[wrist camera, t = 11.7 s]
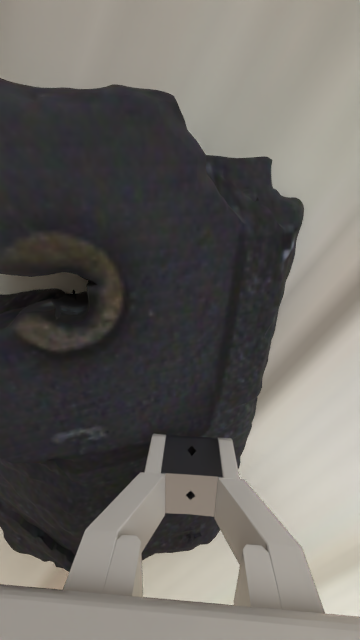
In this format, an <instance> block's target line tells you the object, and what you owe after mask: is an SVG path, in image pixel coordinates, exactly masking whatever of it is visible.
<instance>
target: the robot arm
mask: <svg viewBox="0 0 360 640" xmlns="http://www.w3.org/2000/svg"><path fill="white" fill-rule="evenodd" d="M165 513H173V514H193V515H202V516H211V517H214V518H215V520H216V522H217V524H218V526H219V528H220V530H221V531H222V533H223V535H224V537H225V539H226V541H227V543H228V544H229V546H230V548H231V550H232V552H233V554H234V556H235V557H236V559H237V561H238V563H239V565H240V569H239V574H238V580H237V586H236V591H235V597H234V605H225V604H214V603H203V602H191V601H180V600H169V599H158V598H147V597H143V577H142V554H141V553H142V551H143V550H144V548H145V546H146V545H147V543H148V542H149V540H150V538H151V537H152V535H153V533H154V532H155V530H156V529H157V527H158V525H159V524H160V522H161V521H162V519H163V517H164V516H165ZM0 640H360V617H357V616H346V615H335V614H325V612H324V609H323V606H322V603H321V600H320V597H319V595H318V592H317V589H316V586H315V583H314V580H313V577H312V575H311V572H310V569H309V566H308V563H307V560H306V557H305V555H304V552H303V549H302V547H301V546H300V545H299V543H298V542H297V541H296V540H295V539H294V537H293V536H292V535H291V534H290V533H289V532H288V530H287V529H286V528H285V527H284V526H283V525H282V523H281V522H280V521H279V520H278V519H277V517H276V516H275V515H274V514H273V513H272V512H271V510H270V509H269V508H268V507H267V506H266V505H265V503H264V502H263V501H262V500H261V499H260V497H259V496H258V495H257V494H256V493H255V492H254V490H253V489H252V488H251V487H250V486H249V484H248V483H247V482H246V481H245V480H244V479H240V477H239V472H238V467H237V462H236V457H235V452H234V447H233V441H232V439H231V438H212V437H189V436H178V435H163V434H153V436H152V438H151V443H150V448H149V453H148V457H147V462H146V467H145V472H140V473H139V474H138V475H137V476H136V477H135V478H134V479H133V480H132V481H131V483H130V484H129V485H128V486H127V487H126V488H125V489H124V490H123V491H122V492H121V493H120V494H119V495H118V496H117V497H116V498H115V499H114V500H113V501H112V502H111V503H110V505H109V506H108V507H107V508H106V509H105V510H104V511H103V512H102V513H101V514H100V515H99V516H98V517H97V518H96V519H95V520H94V521H93V522H92V523H91V524H90V525H89V527H88V528H87V529H86V530H85V532H84V535H83V537H82V540H81V543H80V545H79V548H78V551H77V553H76V556H75V559H74V561H73V564H72V567H71V569H70V572H69V575H68V577H67V580H66V583H65V585H64V588H63V590H58V589H47V588H35V587H24V586H13V585H2V584H0Z"/></svg>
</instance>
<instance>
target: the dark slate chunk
mask: <svg viewBox="0 0 360 640" xmlns="http://www.w3.org/2000/svg"><path fill="white" fill-rule="evenodd" d="M271 164H272V160H271V159H270V158H268V157H254V158H227V157H221V156H210V155H205V153H204V152H203V150H202V149H201V147H200V145H199V144H198V142H197V141H196V140H195V139H194V137H193V136H192V135H191V134H190V133H189V132H188V130H187V127H186V124H185V121H184V118H183V115H182V113H181V111H180V109H179V106H178V104H177V101H176V99H175V98H174V96H173V95H171V94H169V93H166V92H163V91H158V90H150V89H139V88H132V87H127V86H123V85H110V86H107V87H103V88H97V89H72V88H39V87H32V86H27V85H22V84H17V83H12V82H9V81H6V80H3V79H1V78H0V273H1V274H8V275H18V276H29V277H33V276H43V275H50V274H54V273H60V272H69V273H73V274H77V275H79V276H81V277H82V278H85V279H88V280H89V282H88V284H87V292H83V293H79V294H75V291H74V290H73V294H66V293H65V292H63V291H62V290H59V289H45V290H33V291H28V292H21V293H17V294H11V295H0V527H1V528H2V530H3V533H4V538H5V540H6V541H7V543H8V544H9V545H10V547H11V548H12V549H13V550H15V551H17V552H19V553H23V554H30V555H32V556H34V557H37V558H39V559H41V560H42V561H52V562H54V563H55V565H56V567H60V568H64V569H65V570H67V571H69V572H70V569H71V567H72V564H73V561H74V559H75V556H76V553H77V551H78V548H79V545H80V543H81V540H82V537H83V535H84V532H85V530H86V529H87V528H88V527H89V525H90V524H91V523H92V522H93V521H94V520H95V519H96V518H97V517H98V516H99V515H100V514H101V513H102V512H103V511H104V510H105V509H106V508H107V507H108V506H109V505H110V503H111V502H112V501H113V500H114V499H115V498H116V497H117V496H118V495H119V494H120V493H121V492H122V491H123V490H124V489H125V488H126V487H127V486H128V485H129V484H130V483H131V481H132V480H133V479H134V478H135V477H136V476H137V475H138V474H139V473H140V472H145V467H146V462H147V457H148V453H149V448H150V443H151V438H152V436H153V434H163V435H178V436H189V437H212V438H231V439H232V441H233V447H234V452H235V457H236V462H237V467H238V468H239V466H240V456H241V454H242V452H243V450H244V447H245V444H246V440H247V437H248V435H249V432H250V430H251V427H252V420H253V418H254V415H255V410H256V403H257V396H258V395H259V393H260V391H261V388H262V377H263V373H264V370H265V367H266V365H267V362H268V355H269V350H270V345H271V339H272V337H273V334H274V331H275V326H276V321H277V315H278V309H279V306H280V303H281V300H282V297H283V294H284V288H285V282H286V279H287V277H288V275H289V272H290V269H291V266H292V263H293V259H294V255H295V248H296V240H297V236H298V233H299V230H300V227H301V224H302V220H303V214H304V207H303V204H302V202H301V201H300V200H299V199H297V198H287V197H283V196H281V195H280V194H279V192H278V191H277V190H275V189H273V188H272V182H271ZM219 530H220V528H219V526H218V524H217V522H216V520H215V518H214V517H211V516H202V515H193V514H173V513H165V516H164V517H163V519H162V521H161V522H160V524H159V525H158V527H157V529H156V530H155V532H154V533H153V535H152V537H151V538H150V540H149V542H148V543H147V545H146V546H145V548H144V550H143V551H142V553H141V554H142V560H144V559H145V558H147V557H149V556H151V555H153V554H155V553H165V552H166V553H173V552H180V551H188V550H192V549H194V548H195V547H196V546H198V545H200V544H208V543H210V542H211V541H212V540H213V539H214V538H215V537H216V535H217V534H218V532H219Z"/></svg>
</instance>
